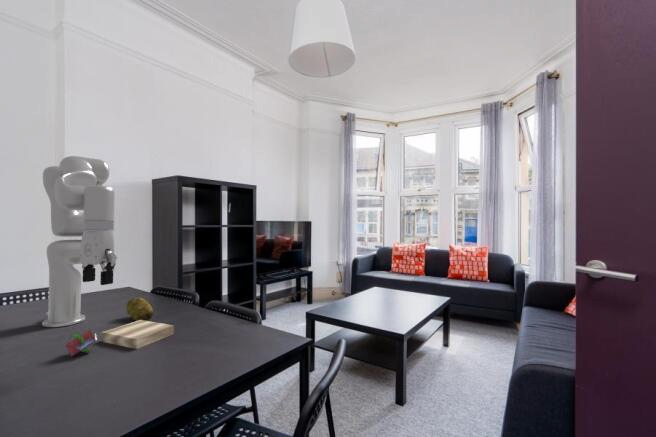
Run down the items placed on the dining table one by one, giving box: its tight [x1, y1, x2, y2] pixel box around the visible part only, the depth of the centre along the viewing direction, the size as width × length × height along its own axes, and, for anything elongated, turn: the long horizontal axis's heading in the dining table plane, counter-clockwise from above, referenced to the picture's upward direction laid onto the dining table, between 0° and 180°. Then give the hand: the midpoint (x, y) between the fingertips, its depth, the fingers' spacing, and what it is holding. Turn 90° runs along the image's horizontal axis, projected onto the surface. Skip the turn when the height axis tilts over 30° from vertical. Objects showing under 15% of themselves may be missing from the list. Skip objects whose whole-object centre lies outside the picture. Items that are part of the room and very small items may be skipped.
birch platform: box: [100, 320, 175, 350], centre depth 105 cm, size 16×14×3 cm
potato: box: [125, 297, 155, 321], centre depth 125 cm, size 8×13×8 cm, turn 41°
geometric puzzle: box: [65, 329, 98, 358], centre depth 92 cm, size 7×7×8 cm
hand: (97, 282), depth 94 cm, fingers open, 9 cm apart
